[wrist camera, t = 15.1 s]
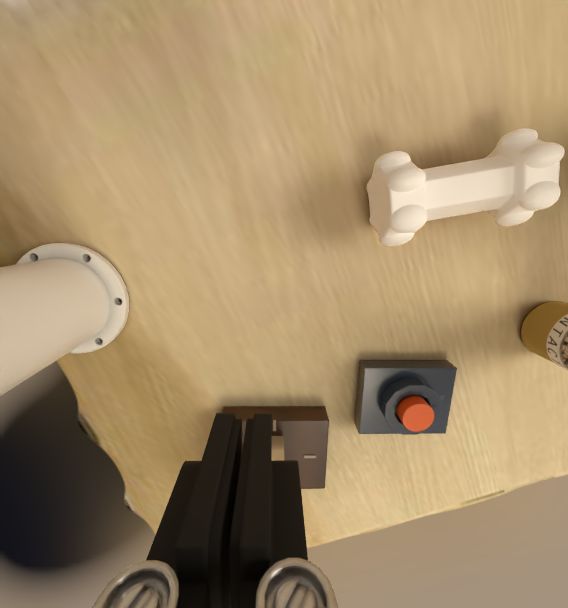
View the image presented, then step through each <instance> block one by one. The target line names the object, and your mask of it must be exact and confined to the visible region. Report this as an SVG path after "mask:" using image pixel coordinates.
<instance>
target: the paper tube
mask: <svg viewBox="0 0 568 608" xmlns="http://www.w3.org/2000/svg"><path fill="white" fill-rule="evenodd" d="M521 336H522V340H523V342H524V344H525V346H526V347H527V348H528V349H529V350H531V351H532V352H534V353H536V354H538V355H540V356H542V357H544V358H546V359H548V360H550V361H552V362H554V363H555V364H557V365H559V366H561V367H563V368H565V369H567V370H568V303H564V302H558V301H554V302H548V303H545V304H542V305H540V306H538V307H536V308H535V309H533V310H532V311H531V312H530V313H529V314H528V315H527V317H526V318H525V320H524V322H523V324H522V328H521Z"/></svg>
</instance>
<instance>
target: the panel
mask: <svg viewBox="0 0 568 608" xmlns="http://www.w3.org/2000/svg"><path fill="white" fill-rule="evenodd" d="M222 413H235V417H236V418H242V445H243V443H244V435H245V428H246V421H247V418H254V413H272V436H283V439H284V460H298V465H299V475H300V485H301V489H320V488H325V476H326V459H327V443H328V427H329V419H328V416H327V412H326V408H325V407H224V408H223V411H222Z"/></svg>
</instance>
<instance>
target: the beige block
mask: <svg viewBox="0 0 568 608" xmlns="http://www.w3.org/2000/svg"><path fill="white" fill-rule="evenodd" d="M275 460H284V439H283V436H272V461H275Z"/></svg>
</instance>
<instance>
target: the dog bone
mask: <svg viewBox="0 0 568 608" xmlns="http://www.w3.org/2000/svg"><path fill="white" fill-rule="evenodd" d="M537 138H538V134H537V132H536V131H535V130H533V129H530V128H521V129H517V130H514V131H511V132H509V133H507V134H506V135H505V136H503V137H502V138H501V139H500V140H499V141H498V143H497V146H496V147H495V148H494V149H493V151H492V152H491V153H490V154H489V155H488V156H486V157H485V158H483V159H478V160H473V161H467V162H461V163H456V164H450V165H444V166H439V167H433V168H427V169H420V168H418V167H417V166H416V165H415V164H414V163H412V162H411V159H410V157H409V155H408V154H407V153H405V152H403V151H393V152H389V153H386V154H384V155H382V156H381V157H379V158H378V159H377V160H376V162H375V164H374V171H373V174H372V177H371V179H370V180H369V181H368V184H367V192H368V196H369V206H370V219H369V221H370V224H371V225H372V226H373V227H374V228H375V230H376V231H377V233H378V235H379V236H380V238H379V239H380V242H381V243H382V244H383V245H386V246H399V245H402V244H405V243H407V242H408V241H410V240H411V239H412V238H413V236H414V233H415V232H416V231H417V230H418V229H420V228H421V227H422V226H423V225H424V224H425V222H426V221H430V220H436V219H442V218H447V217H453V216H459V215H464V214H470V213H476V212H482V211H488V212H489V213H490V214H491V215H492V216H494V217H495V221H496V223H497V224H499V225H501V226H514V225H518V224H521V223H523V222H525V221H527V220H528V219H530V218H531V217H532V215H533V213H534V212H535V211H536V210H541V209H545V208H548V207H550V206H551V205H553V204H554V203H555V202H556V201H557V200H558V198H559V196H560V187H559V170H560V160H561V159H562V158H563V156H564V153H565V151H564V148H563V147H562V146H561V145H559V144H557V143H552V142H544V141H541V140H539V139H537Z"/></svg>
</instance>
